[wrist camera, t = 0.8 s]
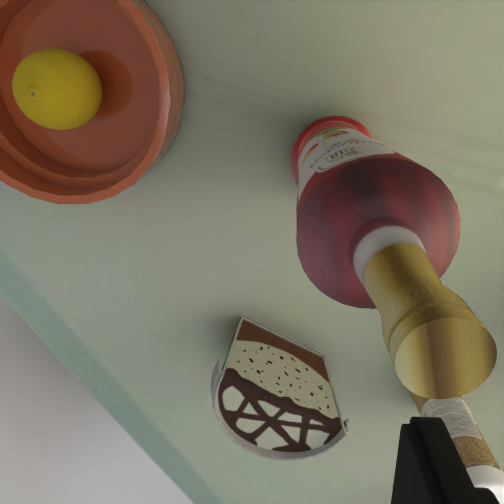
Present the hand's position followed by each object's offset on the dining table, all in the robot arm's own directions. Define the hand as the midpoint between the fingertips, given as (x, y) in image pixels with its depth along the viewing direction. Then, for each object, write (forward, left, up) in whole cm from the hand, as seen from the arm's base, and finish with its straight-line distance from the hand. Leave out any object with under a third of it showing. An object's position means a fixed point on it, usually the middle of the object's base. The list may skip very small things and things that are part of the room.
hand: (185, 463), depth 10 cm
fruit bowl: (-3, -15, -31) cm, 35 cm away
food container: (+19, +6, -32) cm, 37 cm away
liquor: (-2, +6, -31) cm, 32 cm away
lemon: (-3, -15, -31) cm, 35 cm away
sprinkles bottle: (+18, +23, -31) cm, 43 cm away
